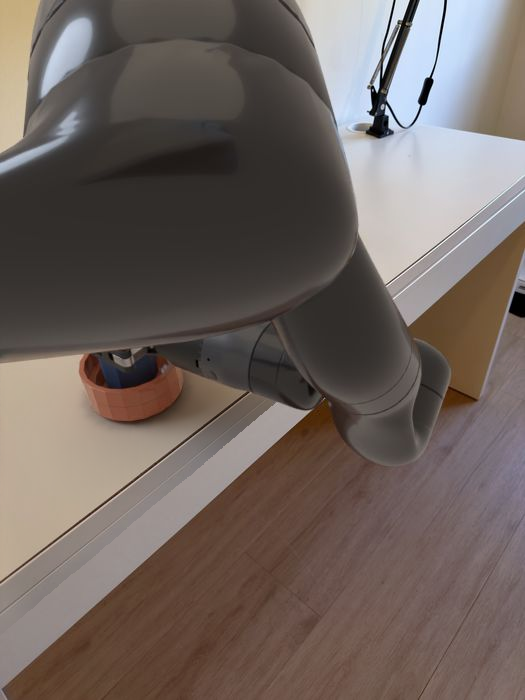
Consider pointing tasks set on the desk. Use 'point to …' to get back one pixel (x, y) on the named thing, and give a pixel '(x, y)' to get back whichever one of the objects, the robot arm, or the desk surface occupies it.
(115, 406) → the bowl
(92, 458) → the desk surface
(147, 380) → the tumbler
